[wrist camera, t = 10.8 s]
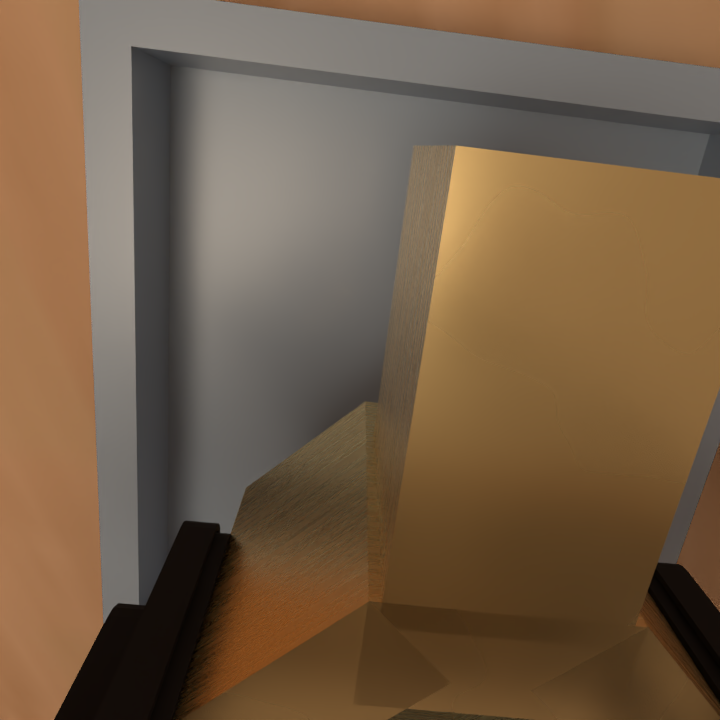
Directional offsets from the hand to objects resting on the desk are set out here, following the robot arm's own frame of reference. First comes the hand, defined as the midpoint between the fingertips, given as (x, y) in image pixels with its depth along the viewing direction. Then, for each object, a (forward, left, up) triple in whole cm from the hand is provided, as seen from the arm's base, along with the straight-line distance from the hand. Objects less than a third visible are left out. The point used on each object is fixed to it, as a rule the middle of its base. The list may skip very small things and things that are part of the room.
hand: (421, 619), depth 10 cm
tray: (+2, 0, -6) cm, 6 cm away
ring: (+2, 0, -1) cm, 2 cm away
